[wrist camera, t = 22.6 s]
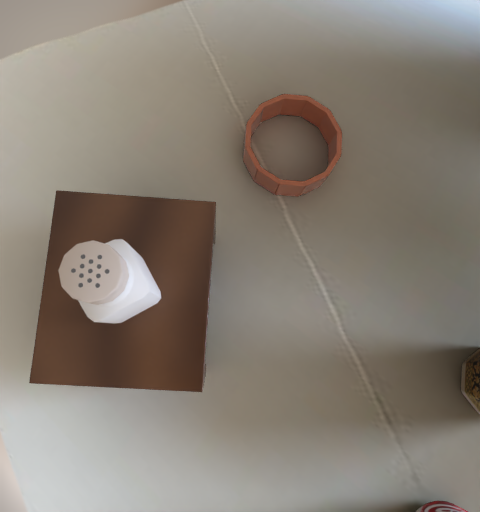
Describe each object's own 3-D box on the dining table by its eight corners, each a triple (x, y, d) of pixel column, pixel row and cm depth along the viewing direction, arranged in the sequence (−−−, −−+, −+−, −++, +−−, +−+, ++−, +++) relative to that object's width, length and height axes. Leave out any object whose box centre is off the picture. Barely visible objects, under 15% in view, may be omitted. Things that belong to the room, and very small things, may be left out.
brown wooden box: (215, 231, 42) (215, 201, 32) (205, 376, 40) (202, 392, 30) (93, 223, 42) (56, 190, 32) (75, 370, 39) (28, 383, 29)
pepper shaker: (90, 278, 31) (36, 255, 21) (140, 252, 31) (108, 219, 22) (115, 327, 30) (71, 325, 21) (165, 299, 31) (143, 286, 21)
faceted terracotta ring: (333, 114, 45) (342, 98, 42) (331, 199, 43) (341, 188, 40) (246, 107, 45) (248, 90, 42) (240, 192, 43) (243, 181, 40)
